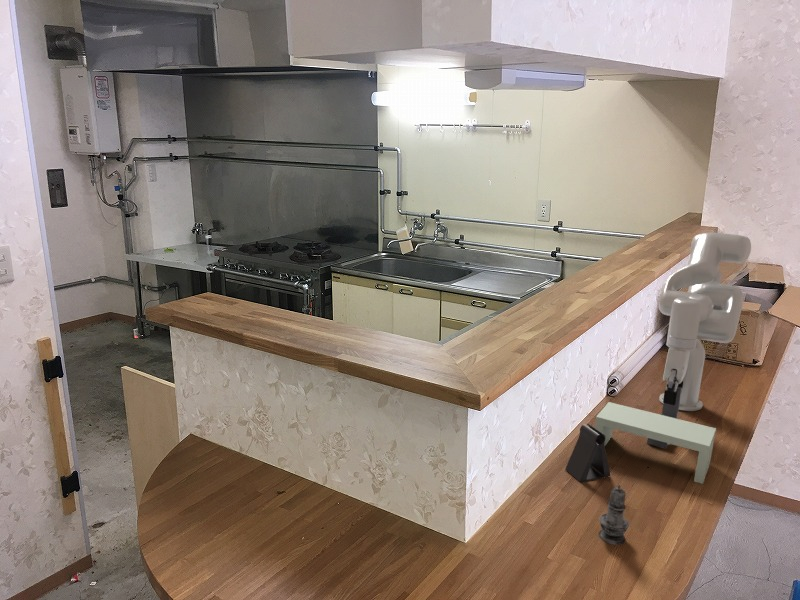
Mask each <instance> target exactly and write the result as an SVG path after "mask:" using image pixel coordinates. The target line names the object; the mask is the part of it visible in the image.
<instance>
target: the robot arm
mask: <svg viewBox="0 0 800 600" xmlns="http://www.w3.org/2000/svg"><path fill="white" fill-rule="evenodd" d="M751 250H752V242H751V239H750V238H749V237H748V236H744V235H739V234H731V233H724V232H721V233H720V232H711V231H710V232H703V233H699V234H696V235H694V237H693V238H692V240H691V244H690V251H689V252H690V255H689V260H688V262H687V263H688V264H687V265H686V266H684V267H682V268H680V269H677V270H676V271H675V272H674V273H672V274H671V275H669V277H668V278H667V279H666V280H665V283H664V284H663V288H662V290H661V293H660V296H659V299H658V309H659V312H660V313H661V314H662V315H665V316H669V323H668V329H667V336H666V337H667V338H666V343H665V345H666V346H667V347H668V352H667V355H666V360H665V366H664V370H663V376H662V381H663V382H665V381H666V385H665V389H664V393H660V394H659V398H658V400H659V402H660V403H661V404H664V403H666V404H670V405H675V404H676V397H677V392H676V390H677V387H681V388H682V393H681V399H680V405H679V411H683V412H684V411H685V412H696V411H700V410H702V409H703V405H704V404H703V402H702V400H700V399H699V395H700V390H701V383H702V379H703V378H702V377H703V372H704V365H705V360H706V350H705V347H704V345H703V344H702V342H701V340H702V341H703V340H704V341H709V342H715V343H720V344H728V343H731V342H732V341H733V340H734V338H735V336H736V334H737V330H738V325H739V321H740V317H741V314H742V309H743V303H744V295H743V294H744V293H743V291H742V289H740V288H739V287H737V286H734V285H729V284H725V283H724V284H723V283H722V279H723V277H722V273H721V271H720V270H719V269H720V265H721V262H726V263H733V264H734V263H735V264H740V265H741V264H744V263H746V262H747V261H748V259H749V257H750V254H751ZM686 287H688V290H687V291H683V290H681V291H680V289H684V288H686ZM674 386H675V387H674Z"/></svg>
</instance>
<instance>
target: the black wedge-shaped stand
mask: <svg viewBox="0 0 800 600" xmlns="http://www.w3.org/2000/svg"><path fill="white" fill-rule="evenodd" d="M604 444H605V435H604V434H602V433H601V432H599V431H598V430H597V429H595V426H594V427H593V426H592V425H590V424H589V423H586V424H584V423H583V424H582V425H581V426H580V428H579V436H578V439H577V441H576V442H575V445H574V447H573V449H572V451H571V452H572V453H571V454H570V457H569V459H568V462H567V464H566V466H565V469H564V470H565V471H566V472H567V473H569V474H570V475H571V476H572V477H574V478H575V479H576V480H577V481H578V482H580V483H585V482H589V481H595V480H599V479H605V478H604V477H607V478H609V477H608V476H610V477H611V470H610V466H609V460H608V455H607V451H606V446H605V445H604Z"/></svg>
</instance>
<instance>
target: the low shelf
mask: <svg viewBox="0 0 800 600" xmlns="http://www.w3.org/2000/svg"><path fill="white" fill-rule="evenodd" d="M594 428H595V429H597V430H598V431H599V432H601V433H602V434H604V435H605V444H604V445H605V447H606V446H607V444H608V443H609V441H610V440H611V439H612V436H613V429H614V430H617V431H620V432H621V431H622V432H625V433H629V434H631V435H632V434H633V435H636V436H639V437H643V438H647V439H648V438H650V439H654V440H658V441H662V442H665V443H669V444H670V445H673V446H677V447H681V448H684V449H688V450H693V451H696V452H698V456H697V462H696V466H695V473H694V479H693V482H695V483H699V484H701V485H703V484H704V482H705V478H706V476H707V473H708V470H709V467H710V466H711V460H712V454H713V448H714V444H715V443H714V442H715V437H716V432H717V428H716V427H711V426H707V425H703V424H699V423H695V422H692V421H689V420H688V421H687V420H683V419H680V418H677V419H676V418H672V417H668V416H664V415H662V414H659V413H655V412H653V411H652V412H651V411H647V410H643V409H639V408H634V407H631V406H626V405H623V404H618V403H614V402H611V401H608V402H607V403H606V404H605V406H604V407H603V408H602V409H601V411H599V413H598V414H597V415H596V417H595V423H594ZM610 438H611V439H610Z"/></svg>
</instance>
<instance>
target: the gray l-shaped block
mask: <svg viewBox="0 0 800 600" xmlns="http://www.w3.org/2000/svg"><path fill="white" fill-rule="evenodd" d="M674 387H675V386H674ZM676 392H677V397H676V404H675V405H670V404H666V403H664V404H663V403H662V404H663V405H662V412H661V415H664V416H668V417H672V418H676V419H678V416H679V412H680V410H679V405H680V399H681V393H682V388H681V387H677V390H676ZM646 444H647V445H651V446H655V447H658V448H661V449H665V450H667V449H668V446H669V445H668V443H665V442H662V441H658V440H654V439H650V438H647V441H646ZM667 445H668V446H667Z"/></svg>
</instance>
